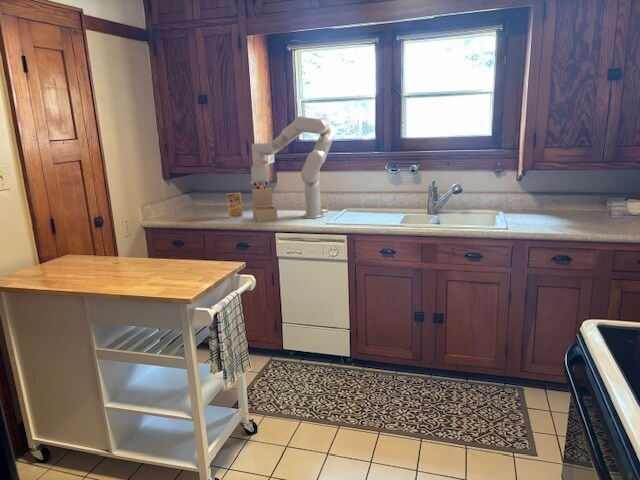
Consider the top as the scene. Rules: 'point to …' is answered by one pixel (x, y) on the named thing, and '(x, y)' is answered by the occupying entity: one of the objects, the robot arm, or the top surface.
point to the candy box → (234, 205)
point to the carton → (264, 213)
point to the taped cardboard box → (262, 196)
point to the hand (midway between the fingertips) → (261, 192)
